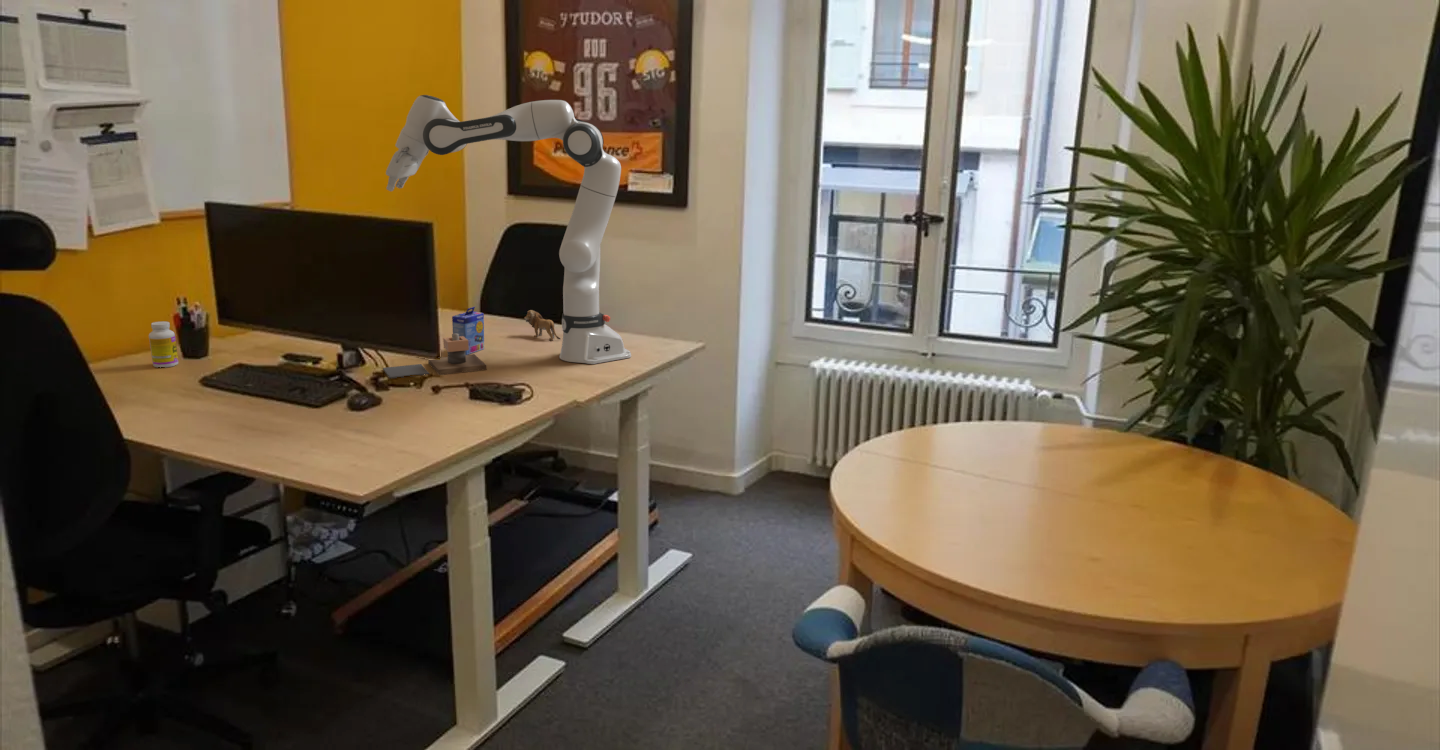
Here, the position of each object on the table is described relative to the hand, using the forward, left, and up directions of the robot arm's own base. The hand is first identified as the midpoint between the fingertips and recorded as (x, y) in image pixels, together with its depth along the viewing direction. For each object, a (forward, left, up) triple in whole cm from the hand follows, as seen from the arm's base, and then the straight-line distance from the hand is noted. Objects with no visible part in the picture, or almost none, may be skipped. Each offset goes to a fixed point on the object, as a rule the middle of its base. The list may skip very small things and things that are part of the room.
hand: (394, 188), depth 286 cm
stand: (-11, +20, -51) cm, 56 cm away
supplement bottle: (+66, -16, -52) cm, 85 cm away
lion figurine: (-46, -6, -52) cm, 70 cm away
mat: (+4, +20, -51) cm, 55 cm away
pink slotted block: (-11, +20, -46) cm, 51 cm away
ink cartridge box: (-19, +3, -52) cm, 55 cm away
